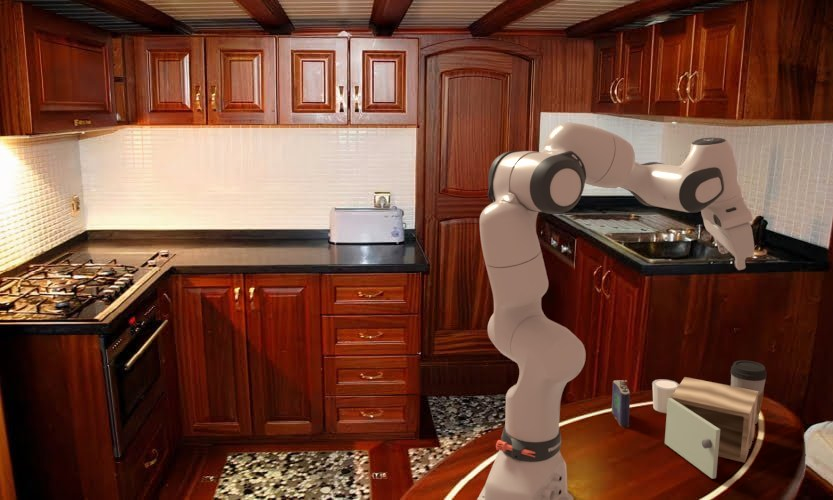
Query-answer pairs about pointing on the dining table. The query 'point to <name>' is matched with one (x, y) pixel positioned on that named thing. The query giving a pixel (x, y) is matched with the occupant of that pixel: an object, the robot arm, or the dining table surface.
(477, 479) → the dining table surface
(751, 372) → the coffee cup
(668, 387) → the white cylinder
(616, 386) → the flask
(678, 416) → the side door
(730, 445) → the oak cabinet
